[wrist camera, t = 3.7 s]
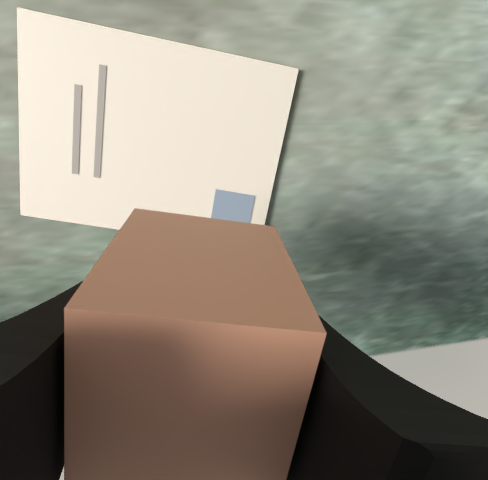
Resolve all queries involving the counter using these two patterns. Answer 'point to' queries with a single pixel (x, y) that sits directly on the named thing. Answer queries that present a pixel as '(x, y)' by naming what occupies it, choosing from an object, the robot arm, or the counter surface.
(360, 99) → the counter surface
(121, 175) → the letter
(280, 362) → the block
